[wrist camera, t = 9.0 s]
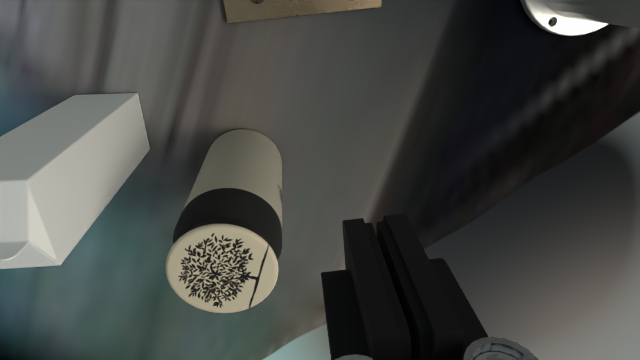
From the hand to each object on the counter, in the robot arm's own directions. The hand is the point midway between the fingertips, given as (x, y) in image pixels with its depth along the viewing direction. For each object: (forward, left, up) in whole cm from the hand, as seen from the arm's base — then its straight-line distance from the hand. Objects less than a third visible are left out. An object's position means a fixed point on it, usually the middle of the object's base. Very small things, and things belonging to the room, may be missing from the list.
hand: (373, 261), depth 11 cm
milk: (+20, +4, -31) cm, 37 cm away
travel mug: (+8, +10, -31) cm, 34 cm away
